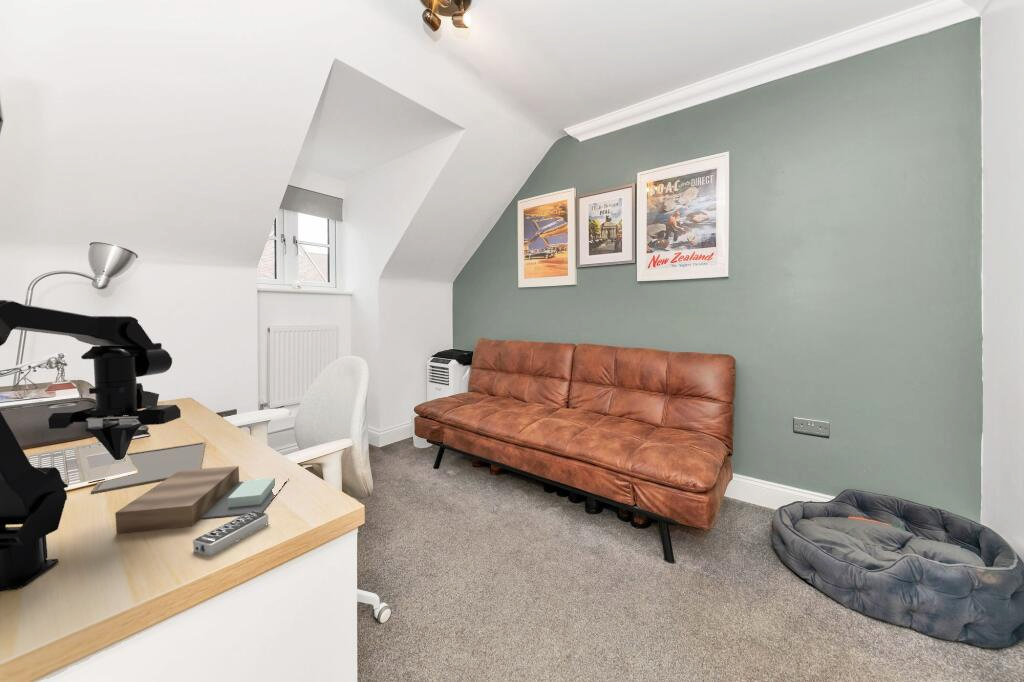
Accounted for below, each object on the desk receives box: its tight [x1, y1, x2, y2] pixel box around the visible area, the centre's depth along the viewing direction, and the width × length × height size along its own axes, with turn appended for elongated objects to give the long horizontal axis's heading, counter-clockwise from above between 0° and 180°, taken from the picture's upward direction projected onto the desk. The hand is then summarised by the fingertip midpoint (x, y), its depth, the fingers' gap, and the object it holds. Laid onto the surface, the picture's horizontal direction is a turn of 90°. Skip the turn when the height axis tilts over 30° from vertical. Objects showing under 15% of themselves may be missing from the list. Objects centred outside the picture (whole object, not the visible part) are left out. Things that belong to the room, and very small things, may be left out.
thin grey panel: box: [90, 441, 206, 495], centre depth 105 cm, size 19×1×28 cm
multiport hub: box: [192, 511, 269, 557], centre depth 71 cm, size 4×11×2 cm, turn 162°
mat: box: [199, 480, 276, 520], centre depth 87 cm, size 17×11×1 cm, turn 13°
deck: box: [114, 465, 240, 535], centre depth 83 cm, size 20×12×4 cm, turn 13°
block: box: [228, 477, 276, 508], centre depth 86 cm, size 9×6×2 cm, turn 15°
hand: (119, 459), depth 77 cm, fingers closed
